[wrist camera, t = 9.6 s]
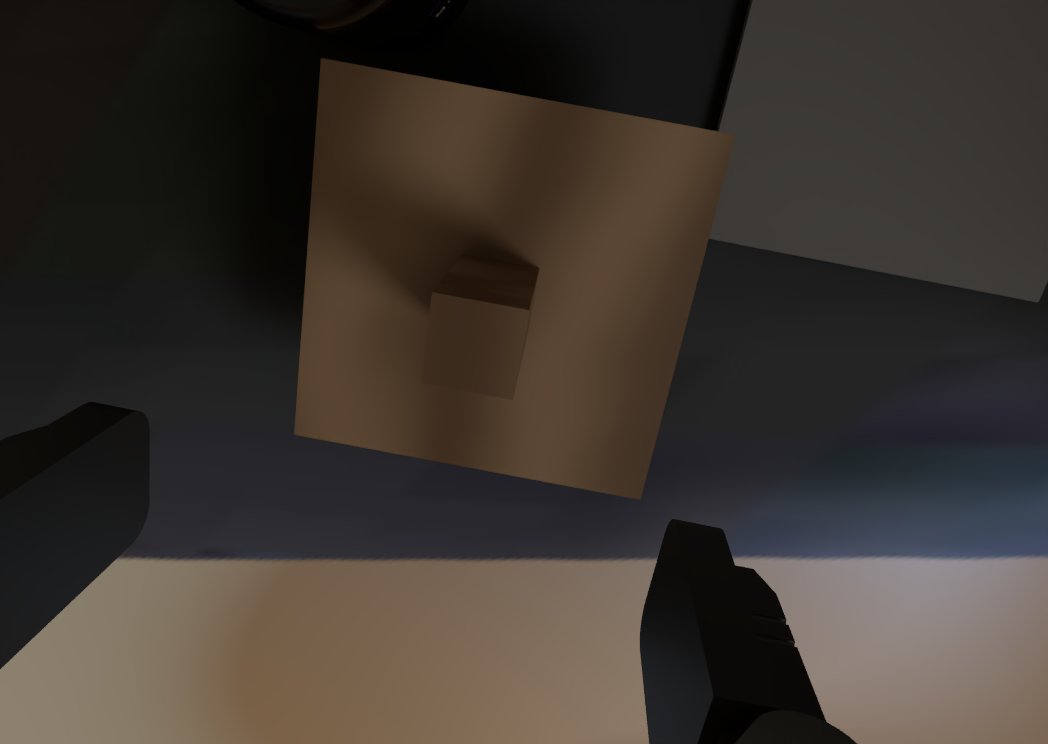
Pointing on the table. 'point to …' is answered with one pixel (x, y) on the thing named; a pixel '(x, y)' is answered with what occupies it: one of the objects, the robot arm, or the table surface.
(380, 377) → the lid
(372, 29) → the supplement bottle
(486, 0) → the table surface
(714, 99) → the table surface
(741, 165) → the mat
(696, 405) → the table surface
